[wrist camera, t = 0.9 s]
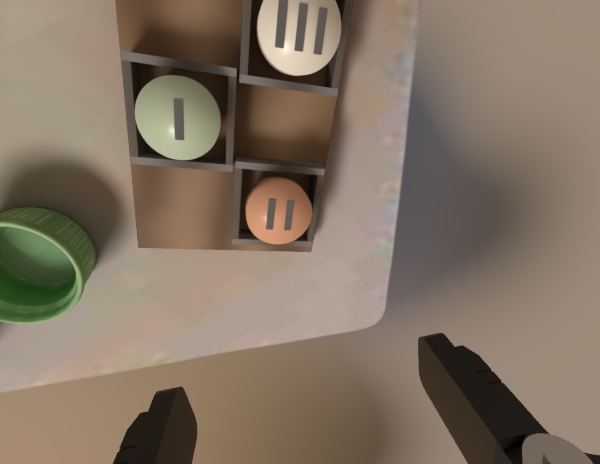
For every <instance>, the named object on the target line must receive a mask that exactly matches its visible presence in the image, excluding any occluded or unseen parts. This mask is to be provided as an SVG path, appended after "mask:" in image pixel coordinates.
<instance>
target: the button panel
mask: <svg viewBox="0 0 600 464" xmlns="http://www.w3.org/2000/svg"><path fill="white" fill-rule="evenodd" d="M115 1H116V12H117V22H118V33H119V44H120V55H121V66H122V76H123V87H124V98H125V109H126V120H127V130H128V141H129V152H130V163H131V173H132V184H133V195H134V206H135V217H136V227H137V238H138V248H173V249H213V250H253V251H293V252H311V250H312V245H313V239H314V233H315V227H316V221H317V215H318V209H319V203H320V197H321V191H322V185H323V179H324V173H325V166H326V160H327V154H328V148H329V142H330V136H331V130H332V124H333V118H334V112H335V106H336V100H337V95H338V89H339V83H340V77H341V71H342V65H343V59H344V53H345V47H346V41H347V35H348V29H349V23H350V17H351V11H352V5H353V0H335V1H336V3H337V6H338V9H339V12H340V17H341V36H340V41H339V44H338V47H337V49H336V52H335V54H334V55H333V57H332V58H331V60H330V61H329V62H328V63H327V64H326V65H325V66H324V67H323V68H321V69H320V70H318V71H316V72H314V73H312V74H308V75H299V76H292V75H287V74H284V73H281V72H279V71H278V70H276V69H275V68H273V67H272V66H271V65H270V64H269V63H268V61H267V60H266V59H265V57H264V56H263V54H262V52H261V50H260V47H259V44H258V40H257V33H256V25H257V18H258V14H259V11H260V8H261V6H262V3H263V0H115ZM166 75H177V76H185V77H189V78H192V79H194V80H196V81H198V82H200V83H201V84H203V85H204V86H205V87H206V88H207V89H208V90H209V91H210V92H211V93H212V95H213V96H214V98H215V99H216V101H217V103H218V106H219V109H220V113H221V128H220V132H219V135H218V138H217V140H216V142H215V144H214V145H213V147H212V148H211V149H210V150H209V151H208V152H207V153H205V154H204V155H202V156H200V157H198V158H195V159H191V160H176V159H171V158H168V157H166V156H163V155H162V154H160V153H158V152H157V151H155V150H154V149H153V148H152V147H150V146H149V145H148V143H147V142H146V141H145V140H144V138H143V137H142V135H141V133H140V132H139V129H138V127H137V124H136V119H135V104H136V100H137V97H138V95H139V93H140V92H141V90H142V89H143V87H144V86H145V85H146V84H148V83H149V82H150V81H152V80H154V79H155V78H158V77H161V76H166ZM274 175H280V176H286V177H289V178H291V179H293V180H294V181H296V182H297V183H298V184H299V185H300V186H301V187H302V189H303V190H304V192H305V193H306V195H307V196H308V198H309V200H310V203H311V206H312V218H311V222H310V224H309V226H308V228H307V230H306V231H305V232H304V233H303V234H302V235H301V236H300V237H299V238H297V239H296V240H294V241H292V242H289V243H286V244H270V243H266V242H264V241H262V240H260V239H258V238H257V237H256V236H255V235H254V234H253V233H252V232H251V230H250V229H249V226H248V224H247V219H246V210H245V202H246V197H247V195H248V192H249V191H250V189H251V188H252V187H253V185H254V184H255V183H257V182H258V181H259V180H261V179H263V178H266V177H269V176H274Z"/></svg>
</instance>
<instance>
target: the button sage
mask: <svg viewBox="0 0 600 464" xmlns="http://www.w3.org/2000/svg"><path fill="white" fill-rule="evenodd" d="M135 119H136V124H137V127H138V129H139V132H140V133H141V135H142V137H143V138H144V140H145V141H146V142H147V143H148V145H149V146H150V147H152V148H153V149H154V150H155V151H157V152H158V153H160V154H162V155H163V156H166V157H168V158H171V159H176V160H191V159H195V158H198V157H200V156H202V155H204V154H205V153H207V152H208V151H209V150H210V149H211V148H212V147H213V145H214V144H215V142H216V140H217V138H218V135H219V132H220V128H221V113H220V109H219V106H218V103H217V101H216V99H215V98H214V96H213V95H212V93H211V92H210V91H209V90H208V89H207V88H206V87H205V86H204V85H203V84H201V83H200V82H198V81H196V80H194V79H192V78H189V77H185V76H177V75H166V76H161V77H158V78H155V79H154V80H152V81H150V82H149V83H148V84H146V85H145V86H144V87H143V89H142V90H141V92H140V93H139V95H138V97H137V100H136V104H135Z"/></svg>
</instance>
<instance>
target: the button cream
mask: <svg viewBox="0 0 600 464" xmlns="http://www.w3.org/2000/svg"><path fill="white" fill-rule="evenodd" d="M256 33H257V40H258V44H259V47H260V50H261V52H262V54H263V56H264V57H265V59H266V60H267V61H268V63H269V64H270V65H271V66H272V67H273V68H275V69H276V70H278V71H279V72H281V73H284V74H287V75H292V76H299V75H308V74H312V73H314V72H316V71H318V70H320V69H321V68H323V67H324V66H325V65H326V64H327V63H328V62H329V61H330V60H331V58H332V57H333V55H334V54H335V52H336V49H337V47H338V44H339V41H340V36H341V17H340V12H339V9H338V6H337V3H336V1H335V0H263V3H262V6H261V8H260V11H259V14H258V18H257V25H256Z"/></svg>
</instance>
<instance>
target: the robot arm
mask: <svg viewBox="0 0 600 464" xmlns="http://www.w3.org/2000/svg"><path fill="white" fill-rule="evenodd" d="M418 355H419V375H420V379H421V382H422V385H423V387H424V389H425V391H426V393H427V394H428V396H429V398H430V400H431V401H432V403H433V405H434V406H435V408H436V410H437V412H438V413H439V415H440V417H441V418H442V420H443V422H444V423H445V425H446V427H447V428H448V430H449V432H450V434H451V435H452V437H453V439H454V440H455V442H456V444H457V446H458V447H459V449H460V451H461V452H462V454H463V456H464V457H465V459H466V461H467V463H468V464H600V455H593V454H588V453H584V452H582V451H581V450H580V449H578V448H577V447H576V446H575V445H573V444H571V443H570V442H568V441H566V440H564V439H562V438H560V437H557V436H554V435H551V434H549V433H548V432H547V431H546V430H545V429H544V428H543V427H542V426H541V425H540V424H539V422H538V421H537V420H536V419H535V418H534V417H533V416H532V415H531V413H530V412H529V411H528V410H527V409H526V408H525V407H524V406H523V404H522V403H521V402H520V401H519V400H518V399H517V398H516V397H515V395H514V394H513V393H512V392H511V391H510V390H509V389H508V388H507V387H506V386H505V384H504V383H502V382H501V380H500V379H499V378H498V376H497V375H496V374H495V373H494V372H492V371H491V369H490V368H489V366H488V365H487V364H486V363H485V362H484V361H483V360H482V359H481V357H480V356H479V355H477V354H476V353H474V352H472V351H471V350H469V349H467V348H466V347H464V346H463V345H462V346H457V347H454V346H453V344H452V343H451V342H450V341H449V339H448V338H447V337H446V336H445V335H444V334H443V333H437V334H432V335H428V336H423V337H419V340H418ZM196 440H197V422H196V418H195V415H194V413H193V410H192V408H191V405H190V403H189V400H188V398H187V395H186V393H185V390H184V389H183V387H176V388H171V389H167V390H162V391H158V392H157V393H156V394H155V395H154V398H153V400H152V403H151V406H150V408H149V411H148V412H143V413H140V414H139V415H138V417H137V418H136V419H135V421H134V422H133V423H132V425H131V426H130V427H129V428H128V430H127V432H126V434H125V436H124V439H123V441H122V443H121V446H120V448H119V452H118V453H117V455H116V458H115V460H114V462H113V464H192V460H193V455H194V450H195V444H196Z"/></svg>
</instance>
